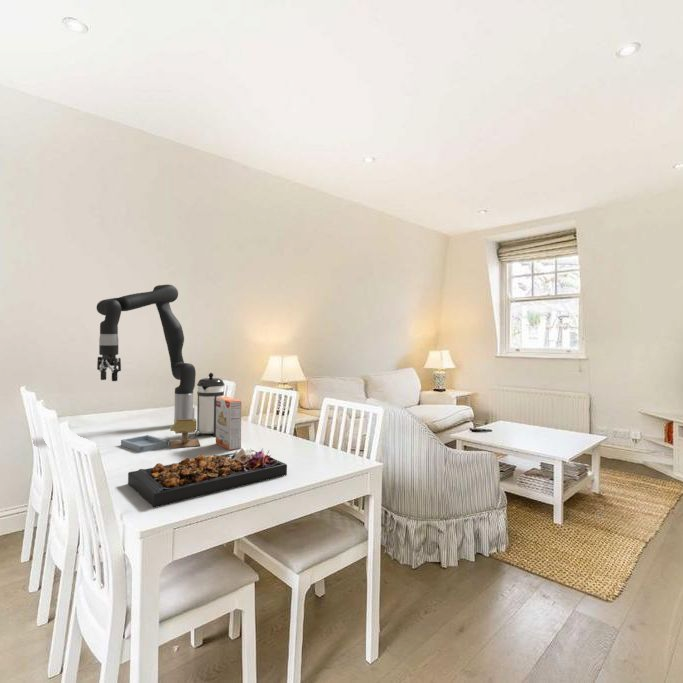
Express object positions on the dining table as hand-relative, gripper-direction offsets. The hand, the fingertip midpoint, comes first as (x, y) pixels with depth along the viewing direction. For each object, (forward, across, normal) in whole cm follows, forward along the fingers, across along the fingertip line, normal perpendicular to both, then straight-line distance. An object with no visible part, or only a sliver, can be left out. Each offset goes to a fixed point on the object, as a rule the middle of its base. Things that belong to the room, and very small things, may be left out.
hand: (108, 380), depth 191 cm
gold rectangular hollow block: (+21, -32, -16) cm, 41 cm away
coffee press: (+28, -25, -36) cm, 52 cm away
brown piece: (+28, -32, -16) cm, 45 cm away
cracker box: (+28, -50, -24) cm, 62 cm away
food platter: (+28, -76, +10) cm, 82 cm away
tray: (+27, -20, -4) cm, 34 cm away
